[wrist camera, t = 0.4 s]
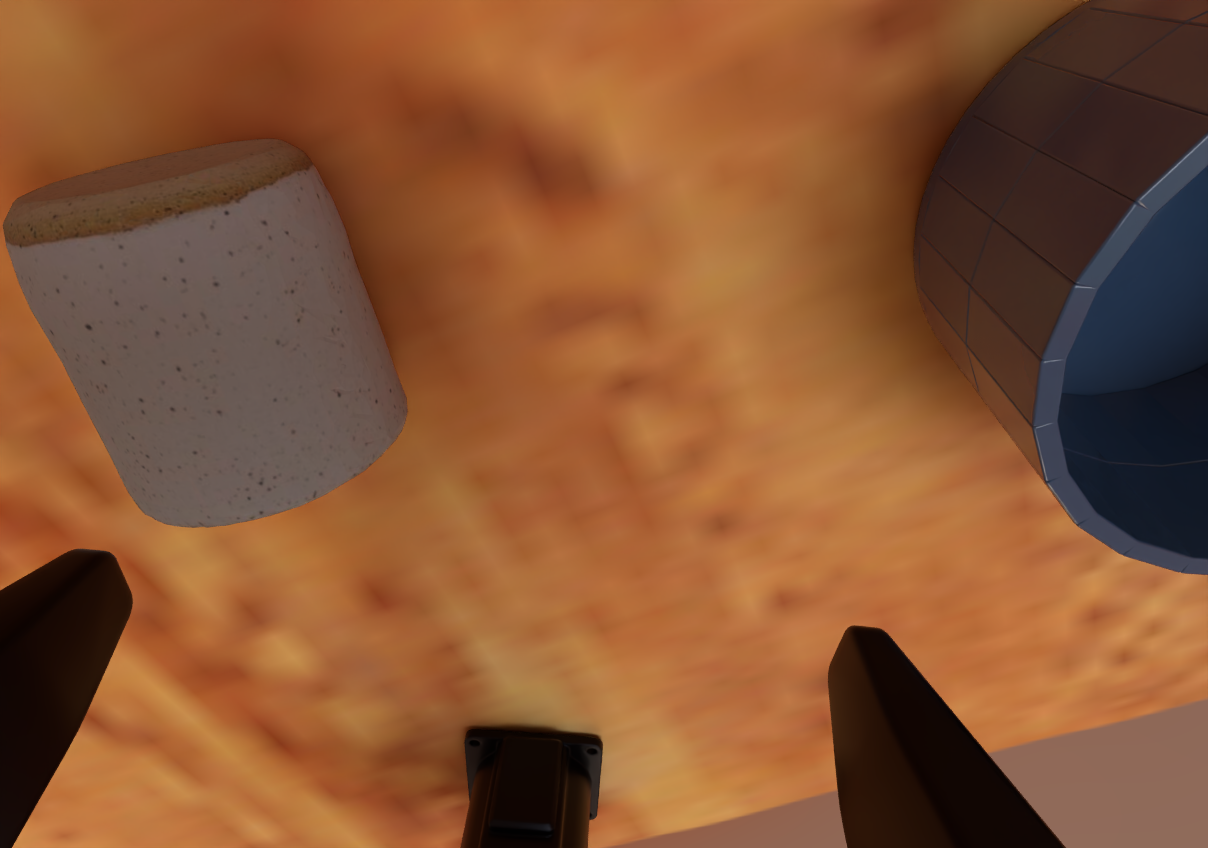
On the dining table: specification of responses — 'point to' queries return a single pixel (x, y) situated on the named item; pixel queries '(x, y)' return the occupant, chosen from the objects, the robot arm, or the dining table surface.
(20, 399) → the dining table surface
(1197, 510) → the bowl
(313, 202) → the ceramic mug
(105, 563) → the robot arm
